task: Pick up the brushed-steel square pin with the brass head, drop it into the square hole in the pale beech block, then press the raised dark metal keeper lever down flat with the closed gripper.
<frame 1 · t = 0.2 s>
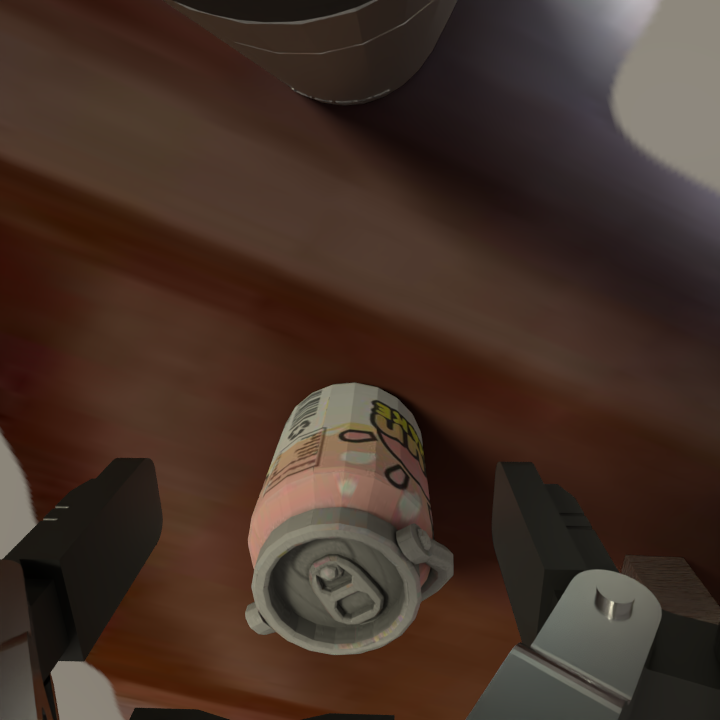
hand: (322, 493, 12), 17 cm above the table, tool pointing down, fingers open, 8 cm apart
beverage can: (358, 444, 32), on the table
pin: (648, 578, 34), on the table
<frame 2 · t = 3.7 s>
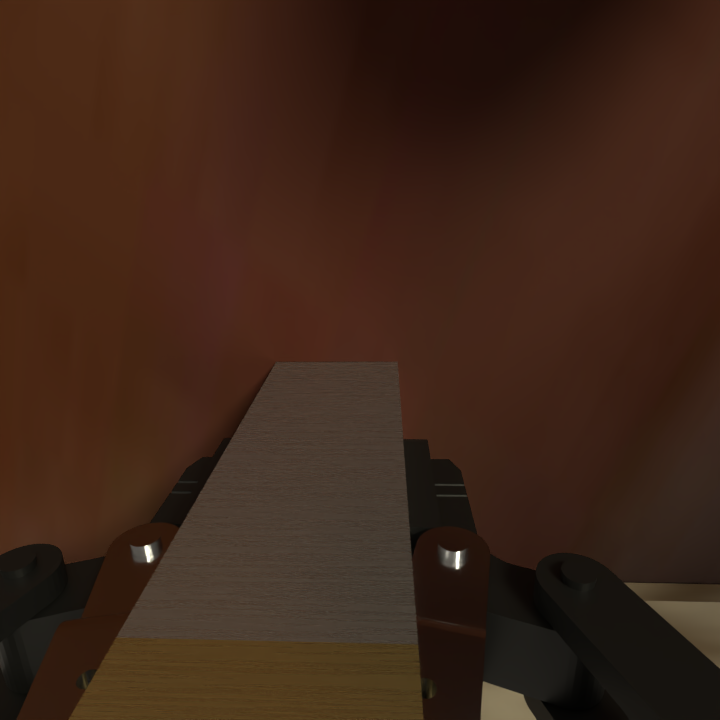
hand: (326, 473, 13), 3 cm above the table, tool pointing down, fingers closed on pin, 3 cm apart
block: (452, 708, 20), on the table
pin: (338, 417, 16), on the table, touching gripper
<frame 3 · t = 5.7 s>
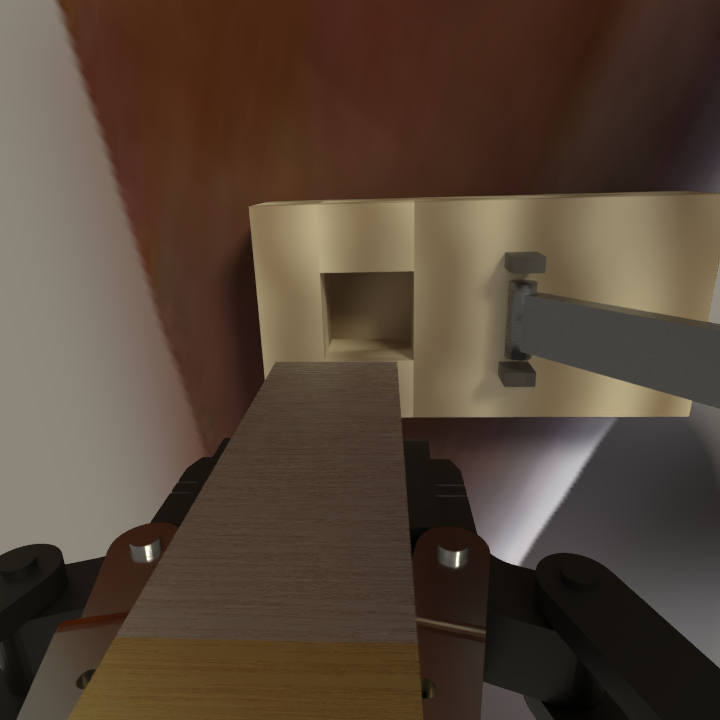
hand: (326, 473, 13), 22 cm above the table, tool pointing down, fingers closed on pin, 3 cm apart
block: (466, 296, 33), on the table
pin: (337, 417, 16), point 18 cm above the table, touching gripper
lever: (605, 339, 24), point 9 cm above the table, hinge at 50.0°
when the fingers open (5 cm above the table, at t = 8.1 s): pin drops 1 cm, resting on block.
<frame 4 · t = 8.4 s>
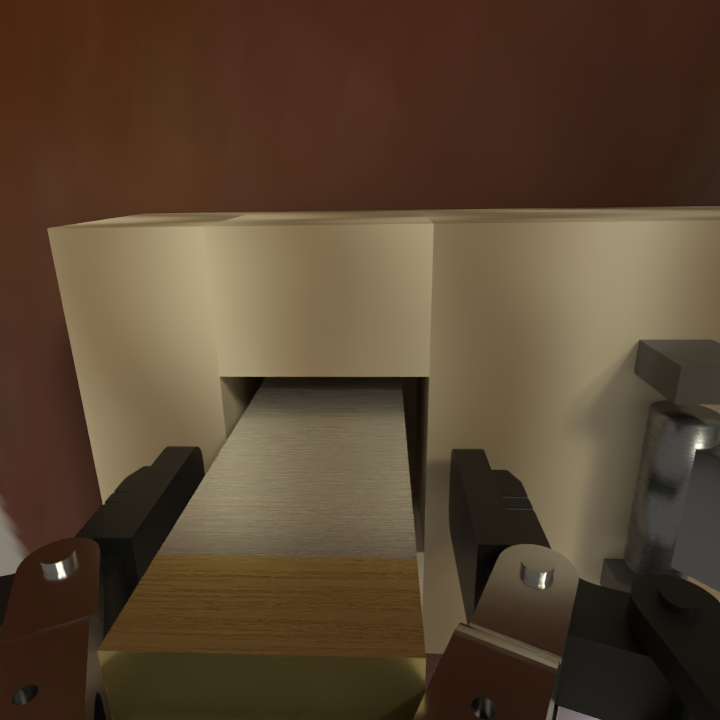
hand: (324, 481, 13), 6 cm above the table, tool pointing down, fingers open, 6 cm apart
block: (519, 393, 18), on the table
pin: (342, 400, 17), point 1 cm above the table, touching block
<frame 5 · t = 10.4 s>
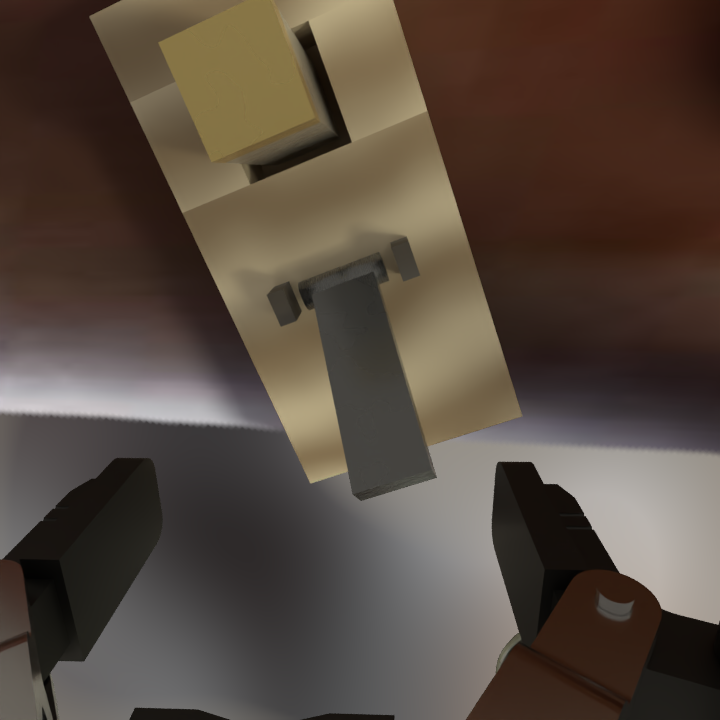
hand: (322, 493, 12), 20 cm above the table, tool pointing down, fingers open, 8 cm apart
block: (337, 227, 30), on the table
pin: (295, 117, 27), point 1 cm above the table, touching block
lever: (364, 364, 22), point 9 cm above the table, hinge at 50.0°
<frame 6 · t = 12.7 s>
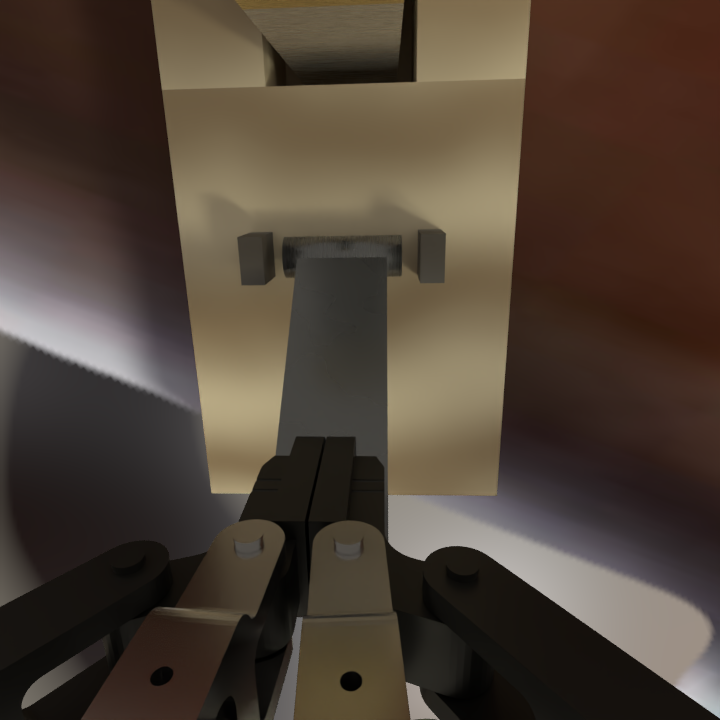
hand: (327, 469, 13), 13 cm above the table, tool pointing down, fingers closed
block: (352, 193, 23), on the table
pin: (349, 34, 21), point 1 cm above the table, touching block
lever: (337, 374, 16), point 9 cm above the table, hinge at 49.0°, touching gripper
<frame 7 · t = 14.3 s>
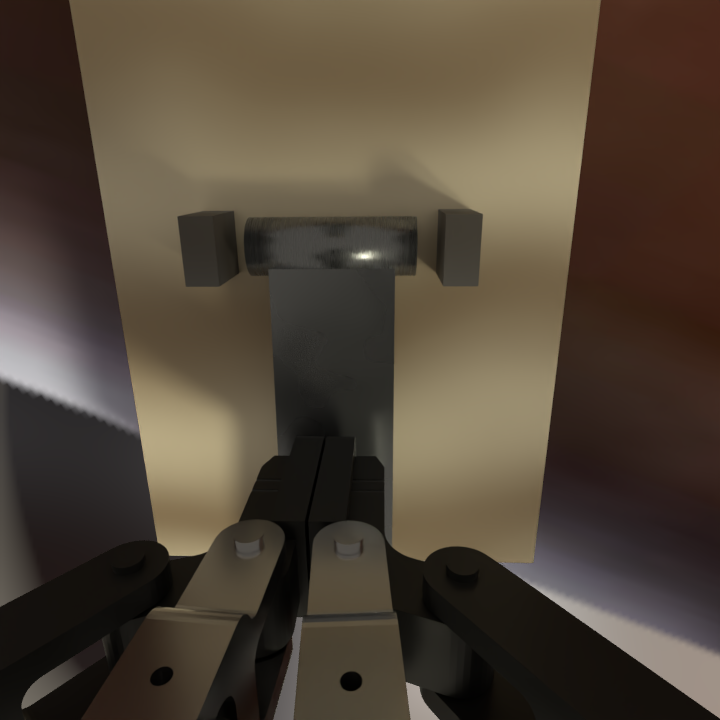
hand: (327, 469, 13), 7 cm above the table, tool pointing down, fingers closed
block: (347, 163, 18), on the table
lever: (336, 425, 14), point 6 cm above the table, hinge at 3.9°
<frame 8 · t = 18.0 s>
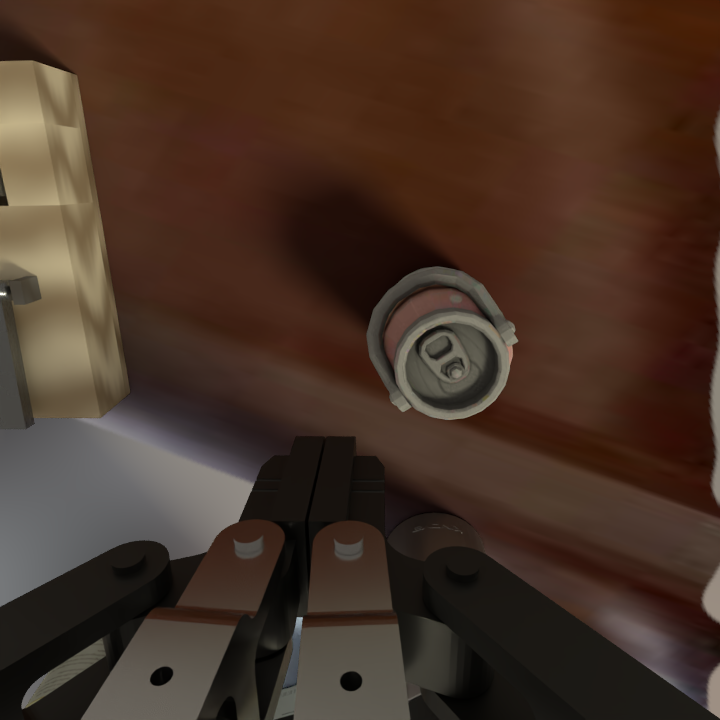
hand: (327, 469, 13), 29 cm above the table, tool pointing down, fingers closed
beverage can: (429, 309, 42), on the table
block: (30, 249, 41), on the table
tea box: (332, 706, 56), on the table
coffee can: (149, 613, 53), on the table
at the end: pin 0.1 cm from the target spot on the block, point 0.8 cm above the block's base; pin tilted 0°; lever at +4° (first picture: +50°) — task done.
